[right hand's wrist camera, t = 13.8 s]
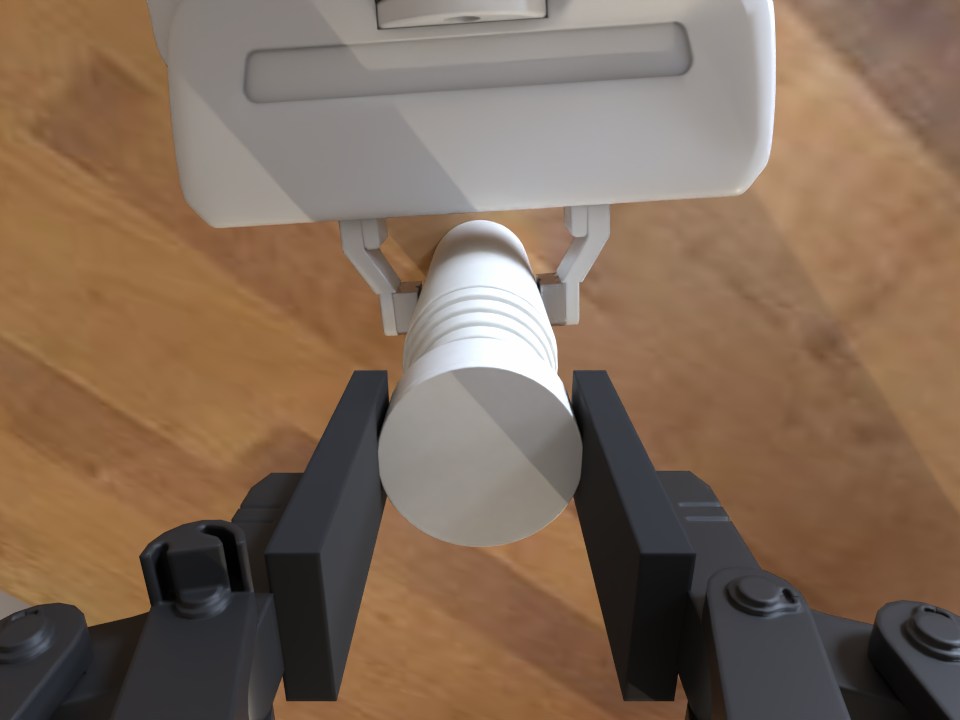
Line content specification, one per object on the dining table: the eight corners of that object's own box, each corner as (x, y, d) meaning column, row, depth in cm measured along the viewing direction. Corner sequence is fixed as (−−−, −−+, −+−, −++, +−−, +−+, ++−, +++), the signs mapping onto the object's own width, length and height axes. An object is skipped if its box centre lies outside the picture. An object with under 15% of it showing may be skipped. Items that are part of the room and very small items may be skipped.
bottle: (546, 250, 30) (630, 416, 13) (497, 330, 31) (517, 571, 15) (461, 201, 29) (436, 312, 12) (415, 286, 31) (337, 487, 14)
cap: (608, 392, 15) (625, 427, 13) (512, 529, 16) (516, 576, 14) (442, 302, 14) (437, 327, 12) (356, 454, 15) (341, 495, 13)
